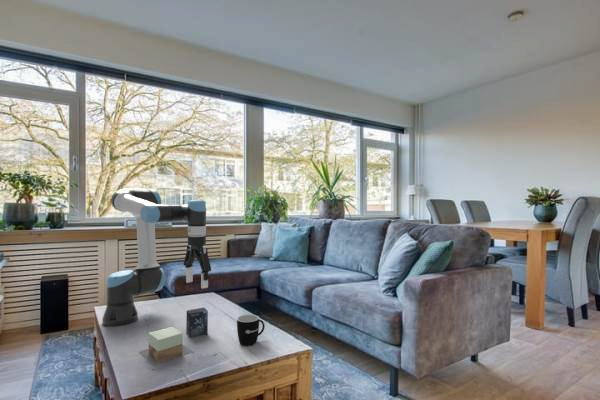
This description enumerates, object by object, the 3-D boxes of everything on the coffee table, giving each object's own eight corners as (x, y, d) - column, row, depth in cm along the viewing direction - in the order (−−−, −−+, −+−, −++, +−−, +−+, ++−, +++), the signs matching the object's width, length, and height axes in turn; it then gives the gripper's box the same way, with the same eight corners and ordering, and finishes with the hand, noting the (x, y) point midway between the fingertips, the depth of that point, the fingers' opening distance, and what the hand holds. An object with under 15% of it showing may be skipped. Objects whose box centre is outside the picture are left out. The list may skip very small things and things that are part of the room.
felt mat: (138, 352, 127) (138, 351, 127) (176, 341, 138) (176, 340, 138) (153, 366, 117) (153, 365, 117) (193, 352, 127) (193, 351, 127)
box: (189, 338, 141) (189, 313, 141) (186, 334, 145) (186, 310, 145) (208, 334, 145) (208, 310, 145) (204, 330, 150) (204, 306, 150)
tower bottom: (148, 354, 125) (148, 343, 125) (172, 347, 132) (172, 336, 132) (158, 362, 119) (158, 351, 119) (182, 354, 125) (182, 343, 125)
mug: (242, 349, 130) (242, 323, 130) (233, 341, 137) (233, 317, 138) (269, 342, 137) (269, 317, 137) (259, 335, 144) (259, 311, 144)
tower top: (148, 343, 125) (148, 333, 125) (172, 336, 132) (172, 326, 132) (158, 351, 119) (158, 340, 119) (182, 343, 125) (182, 333, 125)
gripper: (175, 234, 151) (175, 281, 151) (203, 238, 133) (203, 292, 133) (191, 233, 156) (191, 278, 156) (219, 237, 139) (219, 288, 138)
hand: (196, 285), depth 145 cm, fingers open, 13 cm apart
